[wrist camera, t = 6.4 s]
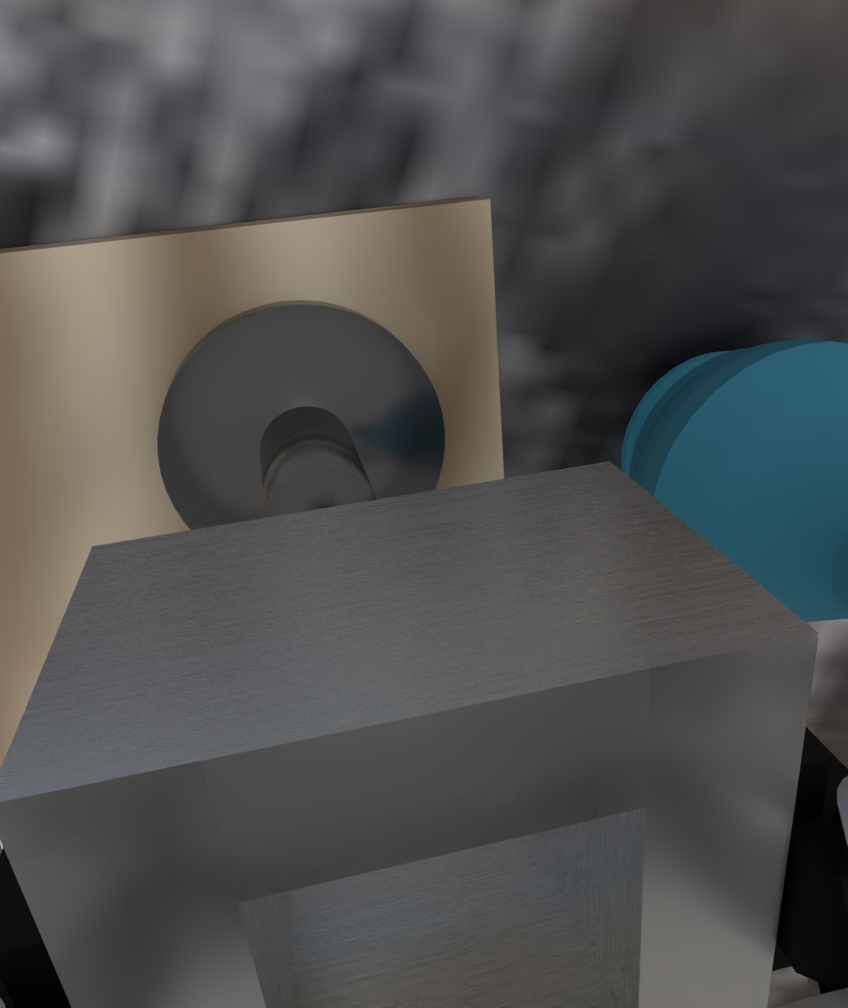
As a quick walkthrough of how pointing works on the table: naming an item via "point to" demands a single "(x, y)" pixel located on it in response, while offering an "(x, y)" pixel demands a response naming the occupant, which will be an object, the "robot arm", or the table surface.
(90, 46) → the table surface
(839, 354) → the perfume bottle
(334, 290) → the board
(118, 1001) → the steel collar
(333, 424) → the rod stand
